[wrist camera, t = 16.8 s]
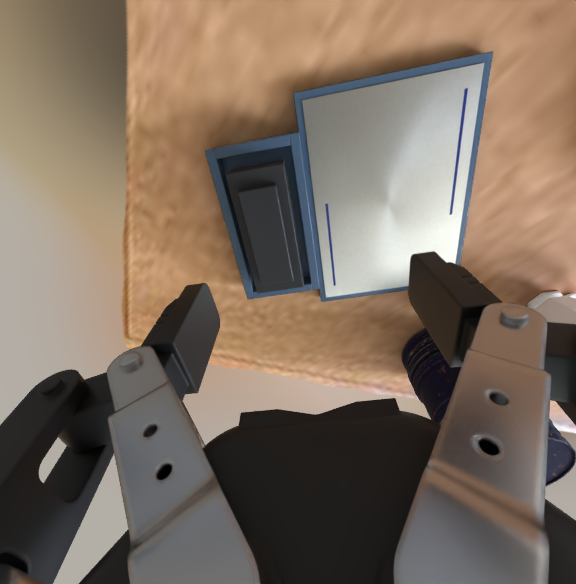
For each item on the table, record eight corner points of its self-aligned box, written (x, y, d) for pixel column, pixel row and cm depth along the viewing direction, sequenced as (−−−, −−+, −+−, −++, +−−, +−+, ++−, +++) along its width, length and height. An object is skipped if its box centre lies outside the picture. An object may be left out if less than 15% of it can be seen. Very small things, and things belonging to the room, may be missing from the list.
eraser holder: (211, 148, 25) (204, 150, 23) (298, 131, 25) (299, 132, 23) (250, 287, 33) (247, 299, 31) (317, 277, 32) (319, 289, 30)
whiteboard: (293, 93, 23) (293, 92, 22) (485, 53, 22) (494, 50, 21) (320, 297, 34) (321, 302, 33) (453, 278, 32) (458, 283, 31)
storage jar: (448, 308, 34) (542, 421, 21) (493, 347, 37) (600, 466, 24) (385, 356, 38) (432, 474, 25) (430, 387, 41) (493, 507, 29)
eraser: (233, 167, 25) (222, 176, 21) (284, 157, 25) (283, 164, 21) (260, 275, 31) (256, 299, 27) (302, 268, 31) (304, 292, 26)
